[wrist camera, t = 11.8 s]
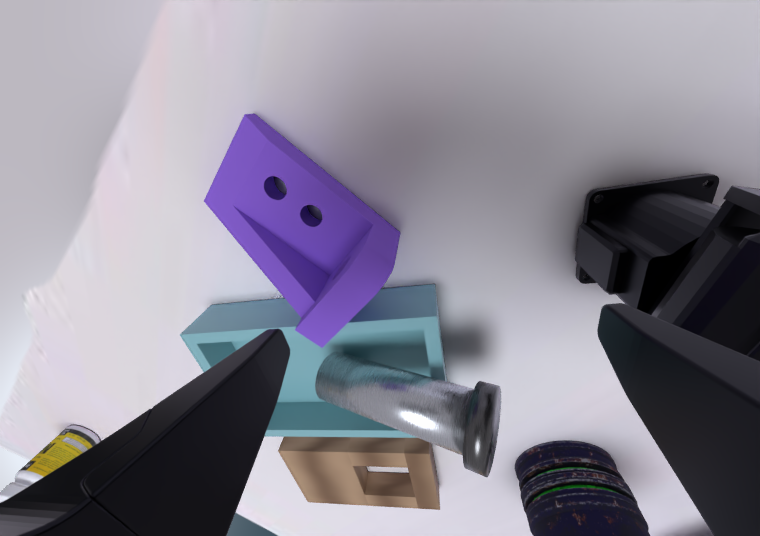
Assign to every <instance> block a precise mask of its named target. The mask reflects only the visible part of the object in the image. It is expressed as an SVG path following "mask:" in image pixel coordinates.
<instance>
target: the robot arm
mask: <svg viewBox="0 0 760 536" xmlns="http://www.w3.org/2000/svg"><path fill="white" fill-rule="evenodd" d="M707 180H708V182H707V184H706V185H705V186H703V183H704V182H705V181H707ZM718 184H719V178H718V177H717V176H715V175H712V174H699V175H692V176H685V177H678V178H671V179H664V180H657V181H650V182H643V183H636V184H629V185H622V186H615V187H608V188H601V189H595V190H592V191H591V192H590V193H589V194H588V195H587V198H586V204H585V212H584V219H583V224H582V225H581V226H580V227H579V232H578V240H577V248H576V256H575V261H576V262H577V263H578V265H577V273H576V278H577V279H578V280H579V281H580V282H581V283H584V284H587V283H598V284H599V286H600V287H601V288H602V289H603V290H604V291H606V292H607V293H608V294H610V295H611V294H616V295H617V296H618V297H619V298H620V299H621V300H622V301H623V302H624V303H625V304H622V303H619V304H606V305H604V306H603V307H602V309H601V314H600V319H599V324H598V337H599V340H600V342H601V344H602V346H603V348H604V350H605V352H606V354H607V356H608V359H609V361H610V363H611V365H612V367H613V369H614V371H615V373H616V375H617V377H618V379H619V381H620V383H621V385H622V387H623V389H624V391H625V393H626V395H627V397H628V398H629V400H630V402H631V403H632V405H633V407H634V408H635V410H636V411H637V413H638V415H639V416H640V418H641V419H642V421H643V423H644V424H645V426H646V427H647V429H648V431H649V432H650V434H651V435H652V437H653V439H654V440H655V442H656V443H657V445H658V447H659V448H660V450H661V451H662V453H663V455H664V456H665V458H666V459H667V461H668V463H669V464H670V466H671V467H672V469H673V471H674V472H675V474H676V475H677V477H678V479H679V480H680V482H681V483H682V485H683V487H684V488H685V490H686V492H687V493H688V495H689V496H690V498H691V500H692V501H693V503H694V504H695V506H696V508H697V509H698V511H699V512H700V514H701V516H702V517H703V519H704V520H705V522H706V524H707V525H708V527H709V528H710V530H711V532H712V533H713V535H714V536H760V189H754V188H747V187H739V186H731V188H730V189H729V191H728V192H727V193H726V195H725V196H724V198H723V199H725V202H724V203H723V205H722V206H721V207H719V206H716V205H713V204H712V202H713V199H714V196H715V193H716V190H717V187H718ZM597 195H600V198H599V199H598V200H597V201H594V198H595V197H596V196H597ZM586 274H588V276H587V277H584V278H583V276H584V275H586ZM289 357H290V347H289V345H288V343H287V340H286V338H285V336H284V333H283V331H282V330H281V329H268V330H266V331H264V332H263V333H261V334H260V335H258V336H257V337H255V338H254V339H252V340H251V341H249V342H248V343H247V344H245V345H244V346H242V347H241V348H239V349H238V350H236V351H235V352H233V353H232V354H230V355H229V356H227V357H226V358H224V359H223V360H221V361H220V362H219V363H217V364H216V365H214V366H213V367H211V368H210V369H208V370H207V371H205V372H204V373H202V374H201V375H199V376H198V377H196V378H195V379H193V380H192V381H191V382H189V383H188V384H186V385H185V386H183V387H182V388H180V389H179V390H177V391H176V392H174V393H173V394H171V395H170V396H168V397H167V398H165V399H164V400H163V401H161V402H160V403H158V404H157V405H155V406H154V407H153V408H152V409H149V410H148V411H146V412H145V413H143V414H142V415H140V416H139V417H137V418H136V419H134V420H133V421H131V422H130V423H128V424H127V425H125V426H124V427H122V428H121V429H119V430H118V431H116V432H115V433H113V434H112V435H110V436H109V437H107V438H105V439H104V440H102V441H101V442H99V443H98V444H96V445H94V446H93V447H91V448H90V449H88V450H86V451H85V452H83V453H82V454H80V455H78V456H77V457H75V458H74V459H72V460H70V461H69V462H67V463H66V464H64V465H62V466H61V467H59V468H57V469H56V470H54V471H53V472H51V473H49V474H48V475H46V476H45V477H43V478H41V479H40V480H38V481H36V482H35V483H33V484H32V485H30V486H28V487H27V488H25V489H24V490H22V491H20V492H19V493H17V494H15V495H14V496H12V497H10V498H8V499H7V500H5V501H3V502H1V503H0V536H226V535H227V533H228V530H229V528H230V525H231V522H232V520H233V517H234V514H235V512H236V509H237V507H238V504H239V501H240V499H241V496H242V493H243V491H244V488H245V486H246V483H247V480H248V478H249V475H250V472H251V470H252V467H253V465H254V462H255V459H256V457H257V454H258V451H259V449H260V446H261V444H262V441H263V438H264V436H265V433H266V430H267V428H268V425H269V422H270V420H271V417H272V415H273V412H274V409H275V407H276V404H277V401H278V398H279V394H280V391H281V387H282V383H283V380H284V376H285V372H286V369H287V365H288V361H289Z"/></svg>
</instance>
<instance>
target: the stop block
mask: <svg viewBox="0 0 760 536" xmlns="http://www.w3.org/2000/svg"><path fill="white" fill-rule="evenodd" d="M278 451H279V453H280V455H281V457H282V458H283V460H284V462H285V463H286V465H287V467H288V469H289V470H290V472H291V474H292V476H293V477H294V479H295V481H296V482H297V484H298V486H299V488H300V489H301V491H302V493H303V494H304V496H305V498H306V500H307V501H308V502H315V503H333V504H350V505H368V506H385V507H402V508H420V509H437V510H440V500H439V483H438V478H437V472H436V467H435V461H434V456H433V450H432V445H431V443H430V442H427V441H425V440H422V439H420V438H388V437H284V438H283V440H282V443H281V445H280V448H279V450H278ZM366 466H376V467H408V470H409V473H386V472H368V471H367V468H366Z"/></svg>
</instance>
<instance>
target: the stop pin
mask: <svg viewBox="0 0 760 536" xmlns="http://www.w3.org/2000/svg"><path fill="white" fill-rule="evenodd" d="M315 390H316V394H317V396H318V397H319V399H321V400H323V401H326V402H328V403H331V404H333V405H336V406H338V407H341V408H343V409H346V410H348V411H351V412H354V413H356V414H359V415H361V416H364V417H366V418H369V419H371V420H374V421H376V422H379V423H382V424H384V425H387V426H389V427H392V428H394V429H397V430H399V431H402V432H404V433H407V434H409V435H412V436H415V437H417V438H420V439H422V440H425V441H427V442H430V443H432V444H435V445H437V446H440V447H443V448H445V449H448V450H450V451H453V452H455V453H458V454H460V455H463V463H464V467H465V468H466V469H468V470H471V471H473V472H475V473H478V474H480V475H483V476H485V477H488V475H489V473H490V470H491V467H492V463H493V458H494V454H495V448H496V443H497V436H498V429H499V420H500V409H501V389H500V386H497V385H494V384H490V383H486V382H482V381H479V382H478V383H477V384H476V386H475V388H474V389H472V388H468V387H465V386H461V385H457V384H454V383H450V382H446V381H443V380H439V379H435V378H432V377H428V376H425V375H421V374H417V373H414V372H410V371H406V370H403V369H399V368H395V367H392V366H388V365H384V364H381V363H377V362H374V361H370V360H366V359H363V358H359V357H355V356H352V355H348V354H344V353H341V352H333V353H331V354H329V355H328V356H327V357H326V358H325V359H324V361H323V362H322V364H321V365H320V367H319V370H318V372H317V376H316V381H315Z"/></svg>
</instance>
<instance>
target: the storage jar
mask: <svg viewBox="0 0 760 536" xmlns="http://www.w3.org/2000/svg"><path fill="white" fill-rule="evenodd" d="M515 471H516V475H517V478H518V480H519V487H520V491H521V499H522V503H523V507H524V511H525V513H526V514H527V518H528V522H529V526H530V530H531V533H532V534H533V536H650V534H649V532H648V525H647V522H646V521H645V519H644V517H643V515H642V513H641V511H640V509H639V508H638V505H637V501H636V499H635V497H634V495H633V494H632V492H631V490H630V488H629V487H628V485H627V484H626V483H625V482H624V479H623V478H622V476H621V475H620V473H619V472H618V471H617V468H616V465H615V463H614V461H613V459H612V457H611V456H610V455H609V454H608V453H607V452H606V451H604V450H603V449H601V448H599V447H597V446H595V445H592V444H589V443H584V442H578V441H554V442H548V443H544V444H540V445H537V446H534V447H532V448H530V449H528V450H527V451H525V452H524V453H522V454H521V455H520V456H519V458H518V459H517V461H516V463H515Z"/></svg>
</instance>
